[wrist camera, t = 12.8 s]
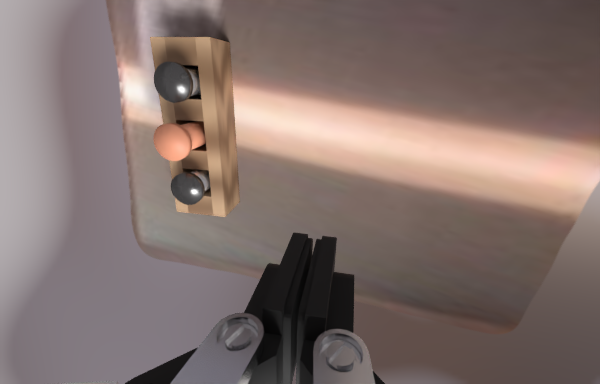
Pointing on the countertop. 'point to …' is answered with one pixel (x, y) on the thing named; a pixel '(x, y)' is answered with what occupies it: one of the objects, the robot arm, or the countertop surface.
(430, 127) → the countertop surface
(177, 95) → the grey plug near
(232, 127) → the socket strip
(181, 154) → the rust plug
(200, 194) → the grey plug far
